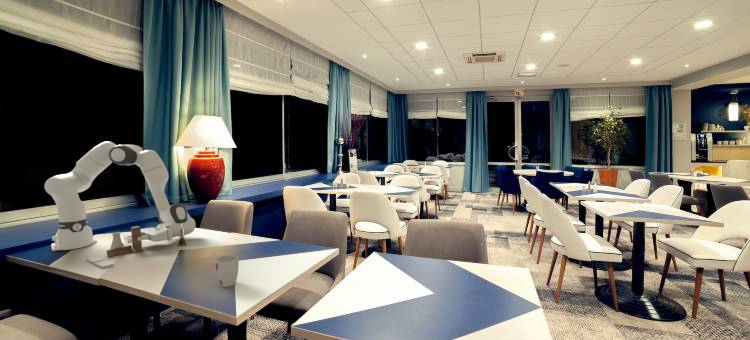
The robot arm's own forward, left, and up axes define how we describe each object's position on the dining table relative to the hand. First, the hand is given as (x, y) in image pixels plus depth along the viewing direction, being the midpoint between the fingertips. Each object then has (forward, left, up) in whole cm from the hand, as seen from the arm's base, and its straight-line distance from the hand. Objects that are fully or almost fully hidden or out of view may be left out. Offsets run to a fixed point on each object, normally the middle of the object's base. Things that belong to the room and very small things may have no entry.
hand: (134, 237), depth 178 cm
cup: (+78, +1, -7) cm, 78 cm away
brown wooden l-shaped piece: (-9, -4, -7) cm, 12 cm away
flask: (-6, -6, -7) cm, 11 cm away
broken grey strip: (+5, -17, -7) cm, 19 cm away
